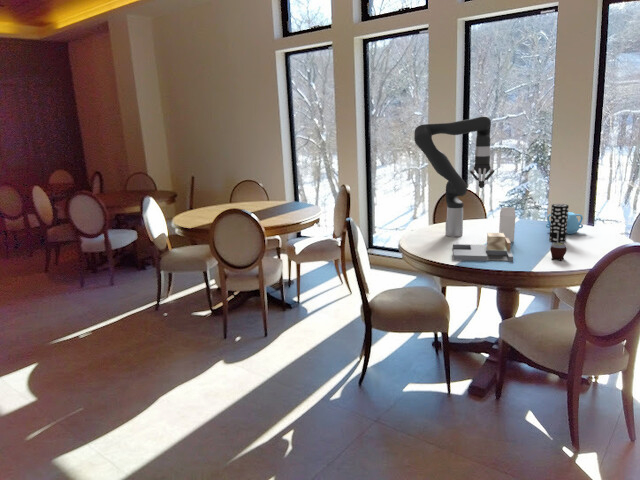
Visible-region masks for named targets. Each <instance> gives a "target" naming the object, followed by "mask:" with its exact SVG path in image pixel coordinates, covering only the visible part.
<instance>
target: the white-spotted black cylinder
mask: <svg viewBox="0 0 640 480" xmlns="http://www.w3.org/2000/svg"><path fill="white" fill-rule="evenodd" d="M569 207H570V206H569V204H564V203H554V204H551V211H550V214H551V216H550V221H551V223H550V228H549V239H548V240H549V241H550V242H552V243H554V242H557V232H558V234H559V237H558V242H561V243H566V241H567V233H566V232H567V219H568V212H569V211H568V210H569Z"/></svg>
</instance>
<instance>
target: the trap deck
mask: <svg viewBox="0 0 640 480" xmlns="http://www.w3.org/2000/svg"><path fill="white" fill-rule="evenodd" d="M511 244H512V243H511V242H510V241H509V239H508V238H505V250H488V248H487V244H468V243H467V244H464V243H462V244H461V243H453V244H452V258H453V259H452V260H453V261H472V260H473V261H477V262H478V261H482V262H483V261H484V262H513V261H514V256H513V254H512V251H511V246H512V245H511Z"/></svg>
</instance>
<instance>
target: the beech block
mask: <svg viewBox="0 0 640 480" xmlns="http://www.w3.org/2000/svg"><path fill="white" fill-rule="evenodd" d="M486 245H487V248H488V250H505V235H504V233H499V232H487V237H486Z"/></svg>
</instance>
